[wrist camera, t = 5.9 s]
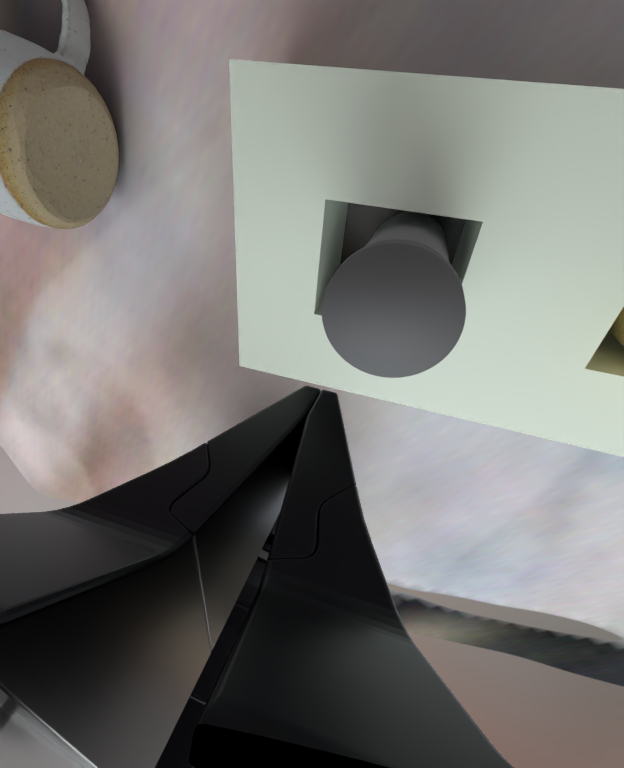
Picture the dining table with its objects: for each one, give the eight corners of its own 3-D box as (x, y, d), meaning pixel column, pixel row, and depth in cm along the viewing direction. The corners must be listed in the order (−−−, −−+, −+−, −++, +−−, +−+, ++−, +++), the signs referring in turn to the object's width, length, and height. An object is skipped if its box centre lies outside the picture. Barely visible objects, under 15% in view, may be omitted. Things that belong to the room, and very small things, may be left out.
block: (712, 419, 19) (787, 495, 15) (273, 326, 23) (239, 366, 19) (982, 138, 12) (1268, 137, 8) (281, 79, 16) (228, 58, 12)
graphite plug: (439, 305, 18) (440, 390, 12) (355, 289, 18) (315, 362, 12) (468, 211, 15) (489, 258, 9) (369, 198, 16) (329, 233, 10)
